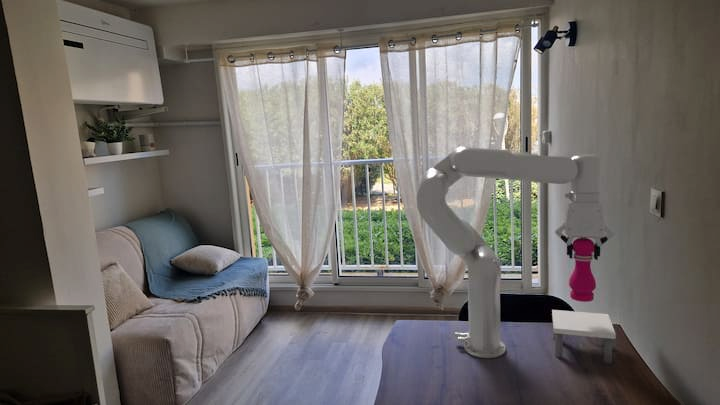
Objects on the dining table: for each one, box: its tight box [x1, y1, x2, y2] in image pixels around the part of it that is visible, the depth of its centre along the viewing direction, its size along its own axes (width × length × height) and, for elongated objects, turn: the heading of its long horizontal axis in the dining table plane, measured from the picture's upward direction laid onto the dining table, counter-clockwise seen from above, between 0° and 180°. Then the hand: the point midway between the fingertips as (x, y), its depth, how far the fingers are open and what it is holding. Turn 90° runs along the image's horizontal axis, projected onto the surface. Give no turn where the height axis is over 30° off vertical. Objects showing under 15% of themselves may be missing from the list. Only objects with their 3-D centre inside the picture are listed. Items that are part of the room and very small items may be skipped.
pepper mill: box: [568, 237, 597, 303], centre depth 135 cm, size 7×7×20 cm
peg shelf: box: [551, 309, 617, 365], centre depth 139 cm, size 16×14×10 cm
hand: (583, 257), depth 135 cm, fingers closed on pepper mill, 6 cm apart
